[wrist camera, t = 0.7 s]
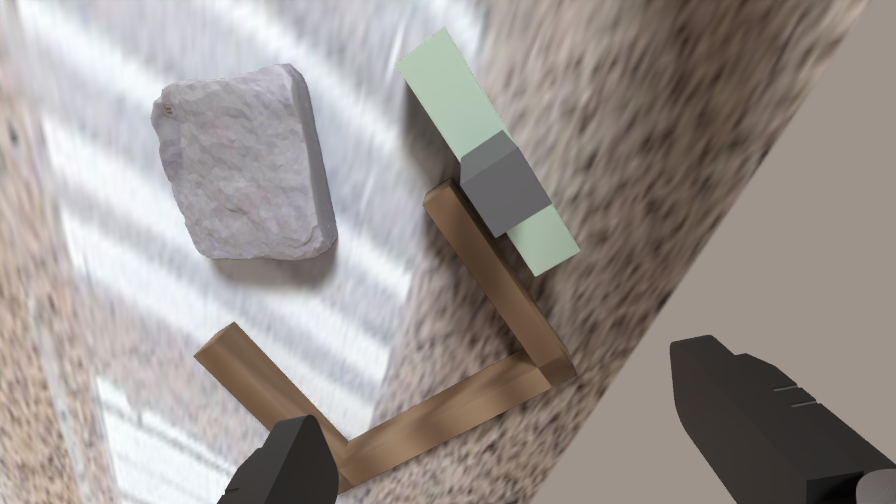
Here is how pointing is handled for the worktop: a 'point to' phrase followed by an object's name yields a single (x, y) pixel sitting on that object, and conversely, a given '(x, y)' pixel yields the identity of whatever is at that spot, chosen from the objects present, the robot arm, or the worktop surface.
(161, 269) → the worktop surface
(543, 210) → the board
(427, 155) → the worktop surface
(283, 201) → the stone block
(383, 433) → the wooden u-shaped frame
